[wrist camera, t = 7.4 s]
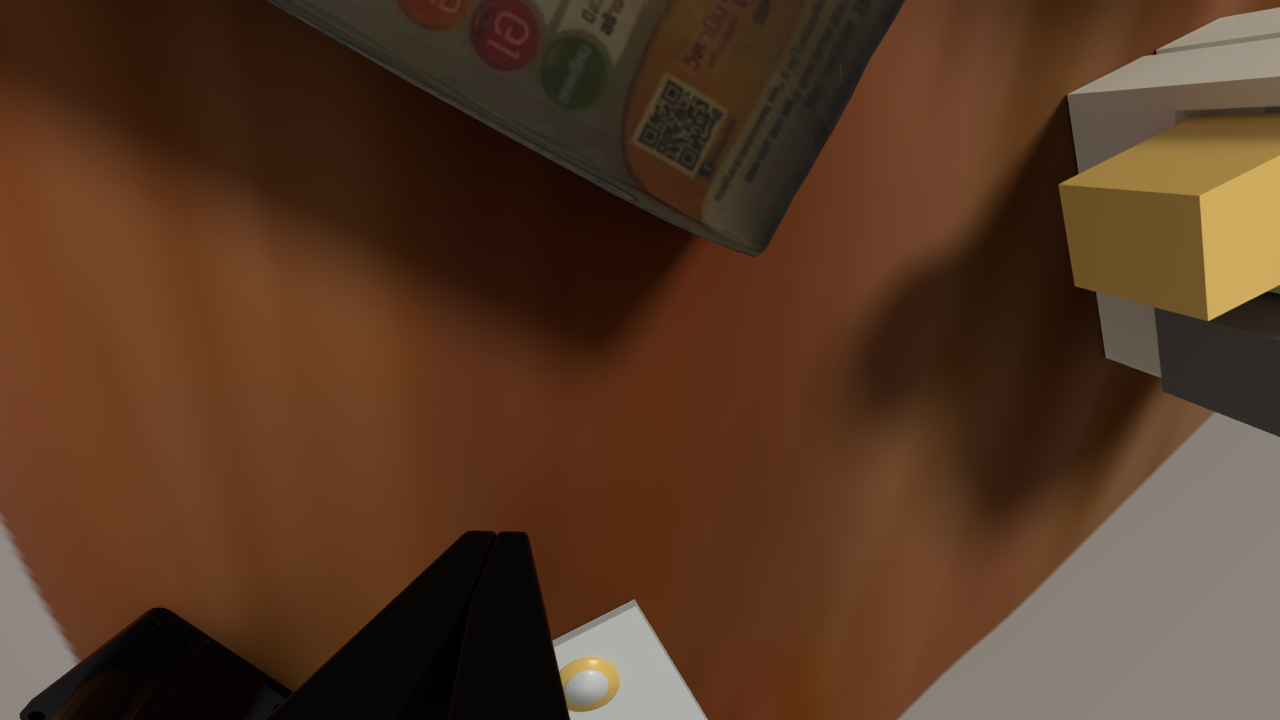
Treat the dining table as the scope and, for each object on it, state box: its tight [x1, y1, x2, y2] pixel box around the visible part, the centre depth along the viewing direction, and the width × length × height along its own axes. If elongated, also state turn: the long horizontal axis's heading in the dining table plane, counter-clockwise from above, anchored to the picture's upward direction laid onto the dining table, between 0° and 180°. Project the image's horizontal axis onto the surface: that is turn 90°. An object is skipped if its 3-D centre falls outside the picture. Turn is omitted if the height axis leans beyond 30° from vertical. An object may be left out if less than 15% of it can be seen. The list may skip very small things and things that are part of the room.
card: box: [553, 599, 708, 720], centre depth 27 cm, size 7×10×1 cm
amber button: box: [1058, 113, 1280, 321], centre depth 17 cm, size 4×3×4 cm
